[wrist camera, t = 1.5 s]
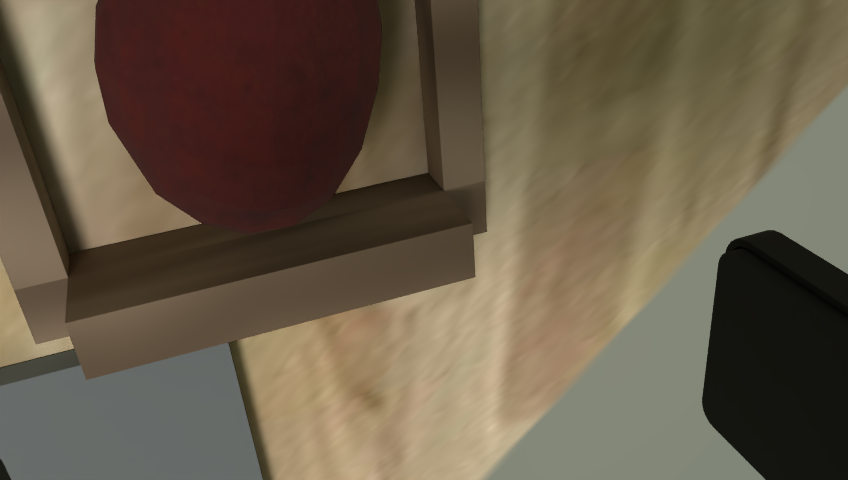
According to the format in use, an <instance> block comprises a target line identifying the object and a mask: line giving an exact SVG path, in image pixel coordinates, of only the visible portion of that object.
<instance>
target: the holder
mask: <svg viewBox="0 0 848 480" xmlns="http://www.w3.org/2000/svg"><path fill="white" fill-rule="evenodd" d="M415 8H416V20H417V33H418V46H419V58H420V71H421V84H422V96H423V109H424V121H425V134H426V147H427V159H428V172H429V173H427V174H423V175H418V176H414V177H409V178H405V179H401V180H396V181H392V182H387V183H383V184H378V185H374V186H369V187H365V188H361V189H356V190H352V191H347V192H343V193H338V194H334V196H333V197H332V199H331V200H330V201H328V202H327V203H325V204H324V205H322V206H321V207H320V208H318V209H317V210H315V211H314V212H313V213H311V214H310V215H308V216H307V217H306V218H304V219H303V220H301V221H300V222H298V223H297V224H296V225H294V226H290V227H284V228H279V229H274V230H268V231H263V232H258V233H252V234H243V233H239V232H234V231H230V230H226V229H222V228H218V227H214V226H210V225H205V224H200V225H196V226H192V227H187V228H183V229H178V230H174V231H169V232H165V233H160V234H156V235H152V236H147V237H143V238H138V239H134V240H129V241H125V242H120V243H116V244H112V245H107V246H103V247H98V248H94V249H89V250H85V251H80V252H76V253H72V254H69V251H68V248H67V245H66V243H65V240H64V237H63V234H62V231H61V229H60V226H59V223H58V220H57V217H56V215H55V212H54V209H53V206H52V203H51V200H50V198H49V195H48V192H47V189H46V186H45V184H44V181H43V178H42V175H41V172H40V170H39V167H38V164H37V161H36V158H35V155H34V153H33V150H32V147H31V144H30V141H29V139H28V136H27V133H26V130H25V127H24V125H23V122H22V119H21V116H20V113H19V110H18V108H17V105H16V102H15V99H14V96H13V94H12V91H11V88H10V85H9V82H8V80H7V77H6V74H5V71H4V68H3V65H2V63H1V60H0V257H1V260H2V262H3V265H4V267H5V270H6V272H7V274H8V277H9V279H10V282H11V284H12V287H13V289H14V292H15V294H16V297H17V299H18V301H19V304H20V306H21V309H22V311H23V314H24V316H25V319H26V321H27V323H28V326H29V328H30V331H31V333H32V336H33V338H34V341H35V343H36V344H39V343H43V342H47V341H51V340H55V339H59V338H63V337H67V336H70V338H71V341H72V344H73V346H74V349H75V352H76V354H77V357H78V359H79V362H80V365H81V367H82V370H83V373H84V375H85V378H86V380H89V379H92V378H96V377H100V376H104V375H107V374H111V373H115V372H119V371H123V370H126V369H130V368H134V367H138V366H141V365H145V364H149V363H153V362H157V361H160V360H164V359H168V358H172V357H175V356H179V355H183V354H187V353H191V352H194V351H198V350H202V349H206V348H209V347H213V346H217V345H221V344H224V343H228V342H232V341H236V340H240V339H243V338H247V337H251V336H255V335H258V334H262V333H266V332H270V331H274V330H277V329H281V328H285V327H289V326H292V325H296V324H300V323H304V322H308V321H311V320H315V319H319V318H323V317H326V316H330V315H334V314H338V313H342V312H345V311H349V310H353V309H357V308H360V307H364V306H368V305H372V304H375V303H379V302H383V301H387V300H391V299H394V298H398V297H402V296H406V295H409V294H413V293H417V292H421V291H425V290H428V289H432V288H436V287H440V286H443V285H447V284H451V283H455V282H459V281H462V280H466V279H470V278H474V277H475V261H474V240H473V235H475V234H479V233H483V232H487V223H486V198H485V172H484V147H483V122H482V96H481V71H480V45H479V20H478V0H415Z"/></svg>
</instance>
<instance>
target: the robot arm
mask: <svg viewBox="0 0 848 480" xmlns="http://www.w3.org/2000/svg"><path fill="white" fill-rule="evenodd" d="M715 289H716V290H715V297H714V305H713V313H712V322H711V330H710V338H709V347H708V355H707V364H706V373H705V381H704V389H703V397H702V405H703V410H704V412H705V415H706V417H707V419H708V421H709V423H710V424H711V425H712V426H713V427H714V428H715V429H716V430H717V431H718V432H719V433H720V434H721V435H722V436H723V437H724V438H725V439H726V440H727V441H728V442H729V443H730V444H731V445H732V446H733V447H734V448H735V449H736V450H737V451H738V452H739V453H740V454H741V455H742V456H743V457H744V458H745V459H746V460H747V461H748V462H749V463H750V464H751V465H752V466H753V467H754V468H755V469H756V470H757V471H758V472H759V473H760V474H761V475H762V476H763V477H764V478H765V479H766V480H848V274H846V273H845V272H843V271H842V270H840V269H838V268H837V267H835V266H834V265H832V264H830V263H829V262H827V261H825V260H824V259H822V258H821V257H819V256H817V255H815V254H814V253H812V252H811V251H809V250H807V249H806V248H804V247H803V246H801V245H799V244H798V243H796V242H794V241H793V240H791V239H789V238H788V237H786V236H785V235H783V234H781V233H779V232H777V231H774V230H767V231H764V232H760V233H756V234H753V235H749V236H745V237H742V238H738V239H735V240H733V241H731V242H730V244H729V245H728V247H727V249H726V253H724V254H723V255H722V256H721V257H720V260H719V263H718V272H717V280H716V288H715ZM0 480H11V478H10V476H9V474H8V472H7V469H6V467H5V465H4V464H3V462H2V460H1V459H0Z"/></svg>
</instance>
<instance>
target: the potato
mask: <svg viewBox="0 0 848 480" xmlns="http://www.w3.org/2000/svg"><path fill="white" fill-rule="evenodd" d="M381 40H382V24H381V18H380V13H379V7H378V2H377V0H98V2H97V5H96V20H95V56H94V62H95V69H96V73H97V77H98V81H99V85H100V89H101V93H102V98H103V102H104V106H105V110H106V114H107V118H108V122H109V124H110V126H111V127H112V129H113V130H114V132H115V133H116V135H117V136H118V138H119V139H120V141H121V142H122V144H123V145H124V147H125V148H126V150H127V151H128V153H129V154H130V156H131V157H132V159H133V160H134V162H135V163H136V164H137V166H138V167H139V169H140V170H141V172H142V173H143V175H144V176H145V178H146V179H147V181H148V182H149V184H150V185H151V187H152V188H153V190H154V191H155V193H156V194H157V195H159V196H160V197H162V198H164V199H165V200H167V201H168V202H170V203H171V204H173V205H174V206H176V207H177V208H179V209H180V210H182V211H184V212H185V213H187V214H188V215H190V216H191V217H193V218H194V219H196V220H197V221H199V222H201V223H202V224H205V225H210V226H214V227H218V228H222V229H226V230H230V231H234V232H239V233H243V234H252V233H258V232H263V231H268V230H274V229H279V228H284V227H290V226H294V225H296V224H297V223H298V222H300V221H301V220H303V219H304V218H306V217H307V216H308V215H310V214H311V213H313V212H314V211H315V210H317V209H318V208H320V207H321V206H322V205H324V204H325V203H327V202H328V201H330V200H331V199H332V197H333V196H334V194H335V192H336V191H337V189H338V187H339V186H340V184H341V182H342V181H343V179H344V177H345V176H346V174H347V172H348V171H349V169H350V168H351V166H352V164H353V163H354V161H355V159H356V158H357V156H358V154H359V153H360V151H361V149H362V145H363V141H364V137H365V134H366V130H367V126H368V122H369V119H370V115H371V111H372V108H373V104H374V100H375V96H376V93H377V89H378V81H379V68H380V54H381Z"/></svg>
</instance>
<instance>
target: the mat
mask: <svg viewBox="0 0 848 480" xmlns="http://www.w3.org/2000/svg"><path fill="white" fill-rule="evenodd" d="M0 459H1V460H2V462H3V464H4V465H5V467H6V469H7V472H8V474H9V476H10V478H11V480H263V478H262V474H261V470H260V466H259V462H258V458H257V454H256V450H255V446H254V442H253V438H252V434H251V430H250V426H249V422H248V418H247V414H246V410H245V406H244V402H243V398H242V395H241V391H240V387H239V383H238V379H237V375H236V371H235V367H234V363H233V359H232V355H231V351H230V347H229V343H224V344H221V345H217V346H213V347H209V348H206V349H202V350H198V351H194V352H191V353H187V354H183V355H179V356H175V357H172V358H168V359H164V360H160V361H157V362H153V363H149V364H145V365H141V366H138V367H134V368H130V369H126V370H123V371H119V372H115V373H111V374H107V375H104V376H100V377H96V378H92V379H89V380H86V378H85V375H84V373H83V370H82V367H81V365H80V362H79V359H78V357H77V354H76V352H75V349H73V350H70V351H66V352H62V353H58V354H54V355H50V356H46V357H42V358H38V359H34V360H30V361H26V362H22V363H18V364H15V365H11V366H7V367H3V368H0Z"/></svg>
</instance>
